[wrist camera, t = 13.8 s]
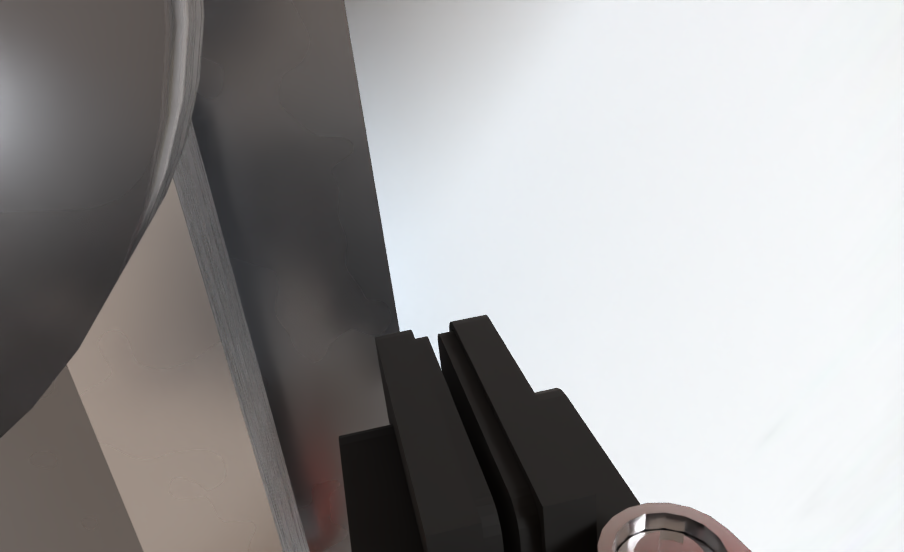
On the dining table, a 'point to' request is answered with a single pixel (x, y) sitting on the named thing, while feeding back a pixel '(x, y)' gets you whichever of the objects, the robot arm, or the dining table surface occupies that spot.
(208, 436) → the lever
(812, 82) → the dining table surface
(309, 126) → the press bed
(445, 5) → the dining table surface
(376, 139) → the dining table surface
